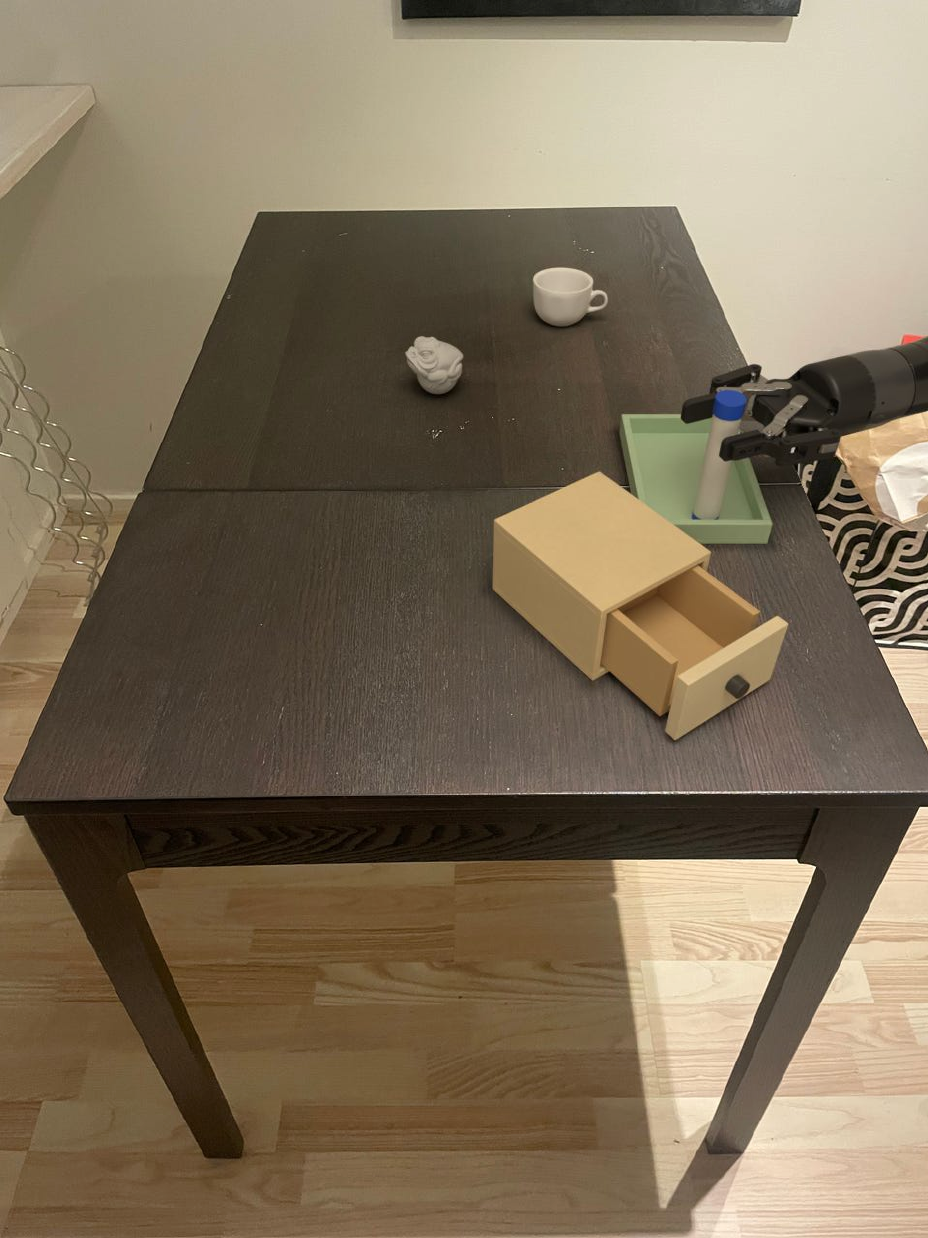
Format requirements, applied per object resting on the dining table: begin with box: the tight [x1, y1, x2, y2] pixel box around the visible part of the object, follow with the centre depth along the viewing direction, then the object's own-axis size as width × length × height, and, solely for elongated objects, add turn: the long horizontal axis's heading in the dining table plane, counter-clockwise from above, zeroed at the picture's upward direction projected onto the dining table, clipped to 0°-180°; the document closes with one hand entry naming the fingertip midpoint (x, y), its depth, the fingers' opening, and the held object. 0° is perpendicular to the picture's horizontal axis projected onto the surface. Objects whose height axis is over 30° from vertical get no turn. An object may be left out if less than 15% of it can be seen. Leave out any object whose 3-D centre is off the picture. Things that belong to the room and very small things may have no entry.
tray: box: [618, 413, 773, 545], centre depth 101 cm, size 20×13×2 cm, turn 0°
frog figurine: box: [404, 335, 464, 395], centre depth 113 cm, size 6×7×7 cm
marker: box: [692, 390, 747, 520], centre depth 92 cm, size 3×3×14 cm
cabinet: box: [492, 471, 712, 682], centre depth 86 cm, size 14×12×8 cm
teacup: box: [532, 267, 609, 327], centre depth 126 cm, size 10×8×5 cm
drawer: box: [600, 565, 789, 741], centre depth 80 cm, size 15×11×7 cm
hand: (703, 431), depth 88 cm, fingers open, 6 cm apart
